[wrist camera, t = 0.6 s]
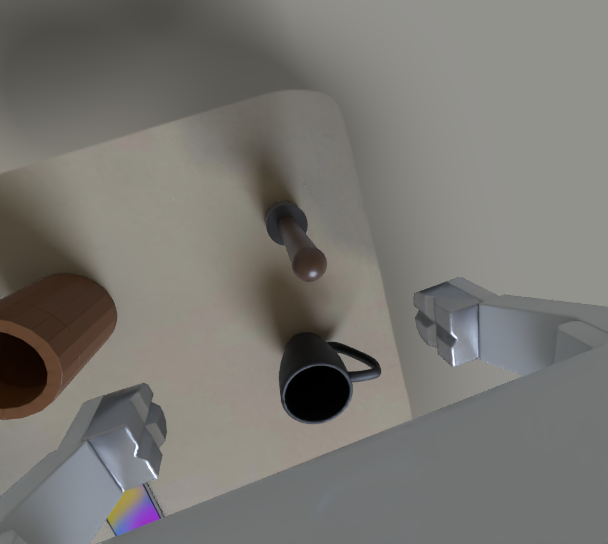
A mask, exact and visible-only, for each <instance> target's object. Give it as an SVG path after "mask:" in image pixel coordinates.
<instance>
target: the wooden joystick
mask: <svg viewBox="0 0 608 544" xmlns="http://www.w3.org/2000/svg"><path fill="white" fill-rule="evenodd" d="M265 222H266V227H267V232H268V234H269V236H270V237H271V239H272V240H273V241H275V242H276V243H278V244H280V245H285V247H286V250H287V252H288V255H289V257H290V260H291V263H292V270H293V272H294V274H295V275H296V276H297V277H298V278H299V279H301V280H303V281H307V282H311V281H315V280H318V279H319V278H320V277H322V275H323V274H324V273H325V271H326V267H327V261H326V258H325V256H324V254H323V253H322V252H321V251H320V250H319V249H317V248H316V246H315V245H314V244H313V242H312V241H311V240H310V239H309V237H308V236H307V235H306V231H307V226H308V224H307V219H306V216H305V214H304V213H303V212H302V210H300V209H299V208H298V207H297V206H296V205H295V204H293V203H292V202H289V201H278V202H275V203H274V204H272V205H271V206H270V207H269V208H268V210H267V212H266V216H265Z"/></svg>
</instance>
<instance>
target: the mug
mask: <svg viewBox="0 0 608 544" xmlns="http://www.w3.org/2000/svg"><path fill="white" fill-rule="evenodd" d="M337 353H342V354H345V355H347V356H350V357H352V358H354V359H357V360H359V361H361V362H363V363H365V364H366V365H368V366H370V367H371V368H372V369H369V370H364V371H353V372H348V371H347V369H346V367H345V365H344V363H343V361H342V360H341V358H340V357H339V355H338V354H337ZM380 374H381V368H380V365H379V363H378V362H377V361H376V360H375V359H374V358H373V357H371V356H369V355H367V354H365V353H363V352H360V351H358V350H356V349H354V348H351V347H349V346H346V345H344V344H341V343H338V342H325V341H324V340H323V339H321V338H320V337H319V336H318V335H316V334H314V333H309V332H304V333H300V334H297V335H295V336H294V337H292V338H291V339H290V340H289V342H288V343H287V346H286V349H285V352H284V354H283V357H282V360H281V365H280V371H279V386H280V395H281V403H282V405H283V408H284V410H285V411H286V412H287V414H288V415H289V416H290V417H292V418H293V419H295V420H297V421H299V422H302V423H306V424H319V423H324V422H327V421H330V420H332V419H334V418H335V417H337V416H338V415H340V414H341V413H342V412H343V411H344V410H345V409H346V407H347V406H348V404H349V402H350V400H351V397H352V393H353V385H352V382H360V381H366V380H371V379H374V378H377V377H379V376H380Z"/></svg>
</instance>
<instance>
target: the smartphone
mask: <svg viewBox="0 0 608 544" xmlns="http://www.w3.org/2000/svg"><path fill="white" fill-rule="evenodd" d="M161 518H164V517H163V515H162V513H161V511H160V509H159V507H158V505H157V503H156V501H155V499H154V497H153V495H152V493H151V491H150V489H149V487H148V485H147V483H144V484H142V485H139V486H137V487H134V488H132V489H129V490H127V491H124V492H123V495H122V497H121V498H120V500H119V501H118V503H117V504H116V506H115V507H114V508H113V510H112V511H111V513H110V514H109V516H108V517H107V519H106V521H107V523H108V524H109V526H110V528H111V529H112V531H113V533H114V534H115V536H118V535H120V534H123V533H126V532H128V531H131V530H133V529H136V528H138V527H141V526H143V525H146V524H148V523H151V522H154V521H156V520H159V519H161Z"/></svg>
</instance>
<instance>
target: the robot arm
mask: <svg viewBox="0 0 608 544" xmlns="http://www.w3.org/2000/svg"><path fill="white" fill-rule="evenodd" d="M413 299H414V306H415V307H416V308H418V309H419V311H418V313H417V315H416V317H415V320H416V326H417V329H418V332H419V334H420V336H421V337H422V339H423V340H424V341H425V342H426V343H427V344H428V345H429V346H432V347H436V348H437V349H438V355H440V356H441V357H442V358H443V359H444V360H445V361H446V362H447V363H448V364H449V365H451V366H452V367H455V366H457V365H461V364H463V363H466V362H470V361H472V360H475V359H478V358H479V359H480V360H482V361H485V362H488V363H490V364H493V365H496V366H498V367H501V368H504V369H506V370H509V371H512V372H515V373H517V374H520V375H523V377H520V378H517V379H515V380H512V381H510V382H507V383H505V384H502V385H500V386H497V387H495V388H492V389H490V390H487V391H484V392H482V393H479V394H477V395H474V396H472V397H469V398H467V399H464V400H462V401H459V402H456V403H454V404H451V405H449V406H446V407H443V408H441V409H438V410H436V411H433V412H431V413H428V414H426V415H423V416H421V417H418V418H415V419H413V420H410V421H408V422H405V423H403V424H400V425H398V426H395V427H392V428H390V429H387V430H385V431H382V432H380V433H377V434H375V435H372V436H370V437H367V438H364V439H362V440H359V441H357V442H354V443H352V444H349V445H347V446H344V447H342V448H339V449H337V450H334V451H332V452H329V453H326V454H324V455H321V456H319V457H316V458H314V459H311V460H309V461H306V462H304V463H301V464H299V465H296V466H294V467H291V468H288V469H286V470H283V471H281V472H278V473H276V474H273V475H271V476H268V477H266V478H263V479H261V480H258V481H255V482H253V483H250V484H248V485H245V486H243V487H240V488H238V489H235V490H233V491H230V492H227V493H225V494H222V495H220V496H217V497H215V498H212V499H210V500H207V501H205V502H202V503H199V504H197V505H194V506H192V507H189V508H187V509H184V510H182V511H179V512H177V513H174V514H171V515H169V516H166V517H164V518H161V519H159V520H156V521H154V522H151V523H148V524H146V525H143V526H141V527H138V528H136V529H133V530H131V531H128V532H126V533H123V534H120V535H118V536H115V537H113V538H110V539H108V540H105V541H103V542H100V543H98V544H608V307H605V306H596V305H588V304H580V303H571V302H563V301H554V300H545V299H537V298H529V297H520V296H511V295H501V296H498V295H496V294H494V293H492V292H490V291H488V290H486V289H484V288H482V287H480V286H478V285H476V284H474V283H472V282H470V281H468V280H466V279H464V278H461V277H457V278H454V279H452V280H449V281H446V282H444V283H441V284H439V285H436V286H433V287H430V288H428V289H425V290H422V291H419V292H416V293H414V298H413ZM152 398H153V392H152V390H151V389H150V387H149V385H147V384H145V383H142V384H138V385H135V386H132V387H129V388H126V389H122V390H119V391H116V392H113V393H110V394H107V395H103V396H100V397H97V398H94V399H91V400H88V401H87V402H85V403H83V405H82V406H81V408H80V410H79V412H78V414H77V415H76V417H75V419H74V421H73V423H72V424H71V426H70V428H69V430H68V431H67V433H66V435H65V437H64V439H63V440H62V442H61V444H60V446H59V448H58V449H57V451H54V452H52V453H49V454H48V455H47V456H46V457H45V458H44V459H43V460H41V461H40V462H39V463H38V464H37V465H36V466H35V467H34V468H32V469H31V470H30V471H29V472H28V473H27V474H26V475H24V476H23V477H22V478H21V479H20V480H19V481H18V482H16V483H15V484H14V485H13V486H12V487H11V488H10V489H9V490H7V491H6V492H5V493H4V494H3V495H2V496H1V497H0V544H90V543H91V541H92V540H93V538H94V537H95V535H96V534H97V532H98V531H99V529H100V528H101V526H102V525H103V523H104V522H105V520H106V519H107V517H108V516H109V514H110V513H111V511H112V510H113V508H114V507H115V506H116V504H117V503H118V501H119V500H120V498H121V497H122V495H123V492H124V491H127V490H129V489H132V488H134V487H137V486H139V485H142V484H144V483H147V482H149V481H151V480H154V479H156V478H158V475H159V470H160V465H161V460H162V453H161V451H160V450H159V448H160V447H161V445H162V444H163V443H164V441H165V439H166V433H167V429H166V420H165V416H164V413H163V411H162V409H161V407H160V406H159V405H157V404H155V403H152V402H151V401H152Z"/></svg>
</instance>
